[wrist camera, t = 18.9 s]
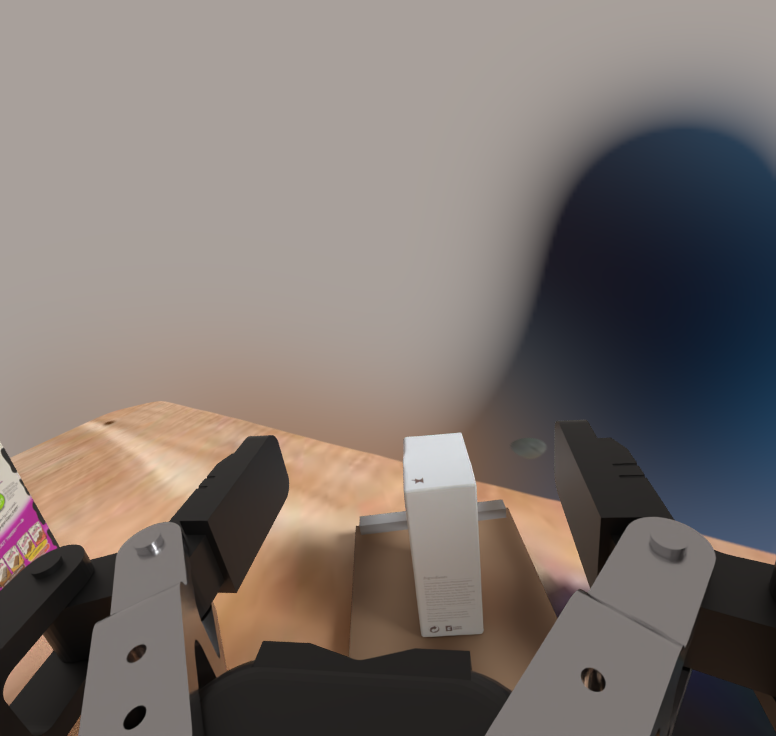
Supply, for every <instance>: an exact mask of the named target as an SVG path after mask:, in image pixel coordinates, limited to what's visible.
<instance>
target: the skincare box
mask: <svg viewBox="0 0 776 736" xmlns="http://www.w3.org/2000/svg"><path fill="white" fill-rule="evenodd" d="M403 478H404V499H405V508H406V517H407V524H408V531H409V539H410V547H411V555H412V563H413V571H414V579H415V587H416V597H417V605H418V613H419V620H420V629H421V635H422V636H423V637H437V636H453V635H473V634H482V633H483V631H484V629H483V609H482V592H481V568H480V549H479V529H478V508H477V490H476V482H475V478H474V473H473V470H472V466H471V463H470V460H469V457H468V454H467V450H466V447H465V443H464V440H463V437H462V433H452V434H441V435H429V436H416V437H406V438H404V458H403Z"/></svg>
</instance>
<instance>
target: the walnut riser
mask: <svg viewBox="0 0 776 736" xmlns="http://www.w3.org/2000/svg"><path fill="white" fill-rule="evenodd" d="M477 508H478V529H479V549H480V568H481V592H482V609H483V629H484V631H483V633H482V634H473V635H453V636H437V637H423V636H422V635H421V629H420V620H419V613H418V605H417V597H416V587H415V579H414V571H413V563H412V555H411V547H410V539H409V531H408V524H407V517H406V511H403V512H395V513H386V514H378V515H370V516H362V517H360V525H359V526H356V536H355V554H354V572H353V591H352V609H351V627H350V646H349V657H350V658H352V659H356V660H364V659H369V658H374V657H378V656H383V655H387V654H392V653H396V652H401V651H405V650H410V649H414V648H421V649H442V650H463V651H470V656H471V665H472V671H475V672H478V673H481V674H483V675H486V676H488V677H490V678H492V679H494V680H496V681H498V682H499V683H501V684H502V685H504V686H505V687H507V688H509V689H510V690H511V691H513V690H514V688H515V686H516V685H517V683H518V682H519V680H520V678H521V677H522V675H523V673H524V672H525V670H526V669H527V667H528V665H529V664H530V662H531V661H532V659H533V657H534V656H535V654H536V653H537V651H538V649H539V648H540V646H541V645H542V643H543V641H544V640H545V638H546V637H547V635H548V633H549V632H550V630H551V629H552V627H553V625H554V624H555V622H556V620H557V617H556V614H555V612H554V610H553V608H552V605H551V603H550V601H549V599H548V596H547V594H546V592H545V590H544V587H543V585H542V583H541V581H540V578H539V576H538V574H537V572H536V570H535V567H534V565H533V563H532V561H531V558H530V556H529V554H528V552H527V549H526V547H525V545H524V543H523V540H522V538H521V536H520V534H519V531H518V529H517V527H516V525H515V523H514V520H513V518H512V516H511V514H510V511H509V509H508V508H506V507H505V505H504V502H503V500H494V501H486V502H477Z"/></svg>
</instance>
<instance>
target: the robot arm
mask: <svg viewBox="0 0 776 736" xmlns="http://www.w3.org/2000/svg"><path fill="white" fill-rule="evenodd" d="M554 449H555V450H554V451H555V452H554V456H555V457H554V473H555V482H556V488H557V492H558V495H559V498H560V501H561V504H562V507H563V510H564V513H565V516H566V519H567V522H568V524H569V527H570V530H571V533H572V536H573V539H574V542H575V545H576V548H577V551H578V554H579V557H580V560H581V563H582V566H583V568H584V571H585V574H586V577H587V580H588V583H589V586H590V590H589V591H588V592H585V591H583V590H581V589H579V590H577V591H576V592H575V593H574V594H573V595H572V597H571V598H570V600H569V601H568V603H567V604H566V606H565V608H564V609H563V611H562V612H561V614H560V616H559V617H558V619H557V620H556V622H555V624H554V625H553V627H552V629H551V630H550V632H549V633H548V635H547V637H546V638H545V640H544V641H543V643H542V645H541V646H540V648H539V649H538V651H537V653H536V654H535V656H534V657H533V659H532V661H531V662H530V664H529V665H528V667H527V669H526V670H525V672H524V673H523V675H522V677H521V678H520V680H519V682H518V683H517V685H516V686H515V688H514V690H513V691H511V690H510V689H509V688H507V687H505V686H504V685H502V684H501V683H499V682H498V681H496V680H494V679H492V678H490V677H488V676H486V675H483V674H481V673H478V672H475V671H472V665H471V656H470V651H463V650H442V649H421V648H414V649H410V650H405V651H401V652H396V653H392V654H387V655H383V656H378V657H374V658H369V659H364V660H356V659H352V658H350V657H347V656H344V655H341V654H339V653H336V652H333V651H330V650H327V649H325V648H322V647H319V646H316V645H314V644H311V643H294V642H273V641H263V642H262V645H261V647H260V650H259V652H258V654H257V657H256V659H255V660H254V661H250V662H247V663H245V664H242V665H239V666H237V667H235V668H233V669H231V670H229V671H227V667H226V662H225V656H224V650H223V645H222V639H221V634H220V628H219V623H218V617H217V612H216V608H215V605H214V603H213V600H214V598H215V596H216V595H217V593H237V591H238V589H239V587H240V586H241V584H242V582H243V580H244V578H245V576H246V574H247V572H248V570H249V568H250V567H251V565H252V563H253V561H254V559H255V557H256V555H257V553H258V551H259V550H260V548H261V546H262V544H263V542H264V540H265V538H266V536H267V534H268V532H269V531H270V529H271V527H272V525H273V523H274V521H275V519H276V517H277V515H278V514H279V512H280V510H281V508H282V506H283V504H284V502H285V500H286V498H287V496H288V491H289V478H288V474H287V471H286V467H285V464H284V460H283V457H282V454H281V450H280V447H279V443H278V440H277V439H276V437H275V436H273V435H268V436H250V437H247V438H246V439H245V441H244V442H243V443H242V444H241V445H240V447H239V448H238V449H237V450H236V452H235V453H234V454H231V455H229V456H228V457H227V458H225V459H224V460H222V461H221V462H220V463H218V464H217V465H216V466H215V467H214V469H213V470H212V471H211V472H210V473H209V475H208V476H207V479H204V480H203V482H202V483H201V484H200V485H199V489H196V490H195V491H194V492H193V494H192V495H191V496H190V497H189V498H188V500H187V501H186V502H185V503H184V504H183V505H182V507H181V508H180V509H179V510H178V511H177V513H176V514H175V515H174V516H173V517H172V519H171V520H170V521H169V522H163V523H158V524H154V525H152V526H149V527H147V528H145V529H143V530H141V531H139V532H138V533H136V534H135V535H133V536H132V537H131V538H130V539H128V540H127V541H126V542H125V543H124V544H123V546H122V547H121V548H120V550H119V551H118V553H115V554H112V555H108V556H104V557H100V558H96V559H92V560H90V559H89V557H88V555H87V554H86V552H85V550H84V548H83V547H82V546H80V545H67V546H62V547H59V548H56V549H54V550H52V551H49V552H47V553H45V554H44V555H42V556H40V557H38V558H37V559H35V560H34V561H32V562H31V563H30V564H28V565H27V566H26V567H25V568H24V569H23V570H22V571H20V572H19V573H18V574H17V575H16V576H15V577H14V578H13V579H12V580H11V581H10V582H9V583H8V584H7V585H6V586H5V587H4V588H3V589H1V590H0V736H67V735H68V733H69V732H70V730H71V729H72V727H73V726H74V724H75V723H76V721H77V720H78V718H79V717H80V715H81V720H80V727H79V734H78V736H671V734H672V731H673V728H674V725H675V722H676V719H677V716H678V712H679V709H680V706H681V703H682V700H683V697H684V694H685V691H686V688H687V685H688V681H689V678H690V675H691V672H692V669H693V670H696V671H699V672H702V673H705V674H708V675H711V676H714V677H717V678H720V679H723V680H726V681H729V682H732V683H735V684H738V685H741V686H744V687H747V688H750V689H753V690H754V692H755V694H756V696H757V698H758V700H759V702H760V704H761V705H762V707H763V709H764V711H765V713H766V715H767V717H768V719H769V721H770V722H771V724H772V726H773V728H774V730H775V732H776V562H775V565H772V564H767V563H763V562H758V561H754V560H749V559H745V558H740V557H736V556H732V555H728V554H724V553H721V552H718V551H716V550H714V549H713V547H712V546H711V544H710V543H709V542H708V541H707V540H706V538H705V537H703V536H702V535H701V534H700V533H699V532H697V531H696V530H694V529H692V528H691V527H689V526H687V525H685V524H682V523H680V522H677V521H675V520H674V519H673V517H672V516H671V514H670V513H669V511H668V510H667V508H666V506H665V505H664V503H663V502H662V501H661V499H660V497H659V496H658V494H657V493H656V491H655V490H654V488H653V487H652V485H651V484H650V482H649V481H648V479H647V478H645V476H644V473H643V472H642V470H641V469H640V467H639V466H637V463H636V461H635V460H634V458H633V457H632V455H631V453H630V452H629V450H628V449H627V448H625V447H624V446H622V445H621V444H619V443H618V442H616V441H615V440H614V439H612V438H597V437H596V435H595V433H594V431H593V430H592V428H591V426H590V424H589V423H588V421H587V420H571V421H556V423H555V445H554ZM42 635H44V637H45V638H46V640H47V641H48V643H49V644H50V645H51V647H52V648H53V650H54V651H53V652H52V653H51V655H50V656H49V657H48V658H47V660H46V661H45V662H44V663H43V665H42V666H41V667H40V668H39V670H38V671H37V672H36V673H35V674H34V676H33V677H32V678H31V679H30V681H29V682H28V683H27V684H26V686H25V687H24V688H23V689H22V691H21V692H20V693H19V694H18V696H17V697H16V698H15V699H14V701H13V702H12V703H11V704H10V706H8V704H7V703H6V702H5V700H4V698H3V688H4V685H5V682H6V680H7V678H8V676H9V674H10V672H11V671H12V670H13V669H14V667H15V666H16V665H17V664H18V663H19V661H20V660H21V659H22V658H23V657H24V656H25V654H26V653H27V652H28V651H29V650H30V649H31V647H32V646H33V645H34V644H35V643H36V642H37V640H38V639H39V638H40V637H41V636H42Z"/></svg>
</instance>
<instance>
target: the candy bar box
mask: <svg viewBox="0 0 776 736" xmlns="http://www.w3.org/2000/svg"><path fill="white" fill-rule="evenodd" d="M56 548H59V545H58V543H57V541H56V540H55V538H54V536H53V534H52V533H51V531H50V529H49V527H48V525H47V524H46V522H45V520H44V519H43V517H42V515H41V513H40V511H39V509H38V508H37V506H36V504H35V503H34V501H33V499H32V497H31V495H30V494H29V492H28V490H27V488H26V487H25V485H24V483H23V481H22V479H21V477H20V476H19V474H18V472H17V470H16V468H15V467H14V465H13V463H12V462H11V459H10V458H9V456H8V454H7V453H6V451H5V449H4V447H3V445H2V444H1V442H0V590H1V589H3V588H4V587H5V586H6V585H7V584H8V583H9V582H10V581H11V580H12V579H13V578H14V577H15V576H16V575H17V574H18V573H19V572H20V571H22V570H23V569H24V568H25V567H26V566H27V565H28V564H30V563H31V562H32V561H34V560H35V559H37V558H38V557H40V556H42V555H44V554H45V553H47V552H49V551H52V550H54V549H56Z"/></svg>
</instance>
